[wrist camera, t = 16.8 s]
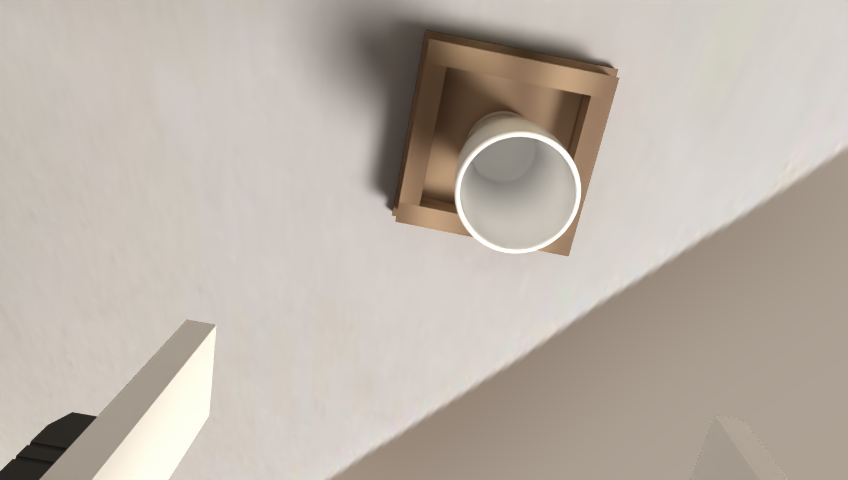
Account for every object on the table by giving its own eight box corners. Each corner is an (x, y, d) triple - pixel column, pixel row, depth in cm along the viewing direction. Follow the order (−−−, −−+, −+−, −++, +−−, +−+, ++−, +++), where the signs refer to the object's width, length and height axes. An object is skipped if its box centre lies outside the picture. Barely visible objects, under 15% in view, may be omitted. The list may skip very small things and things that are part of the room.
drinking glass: (437, 149, 48) (426, 199, 33) (499, 80, 46) (515, 101, 31) (503, 207, 49) (519, 279, 34) (566, 142, 47) (610, 189, 33)
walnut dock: (393, 211, 50) (387, 226, 46) (426, 30, 46) (423, 30, 42) (564, 246, 50) (573, 263, 47) (614, 68, 46) (628, 71, 42)
